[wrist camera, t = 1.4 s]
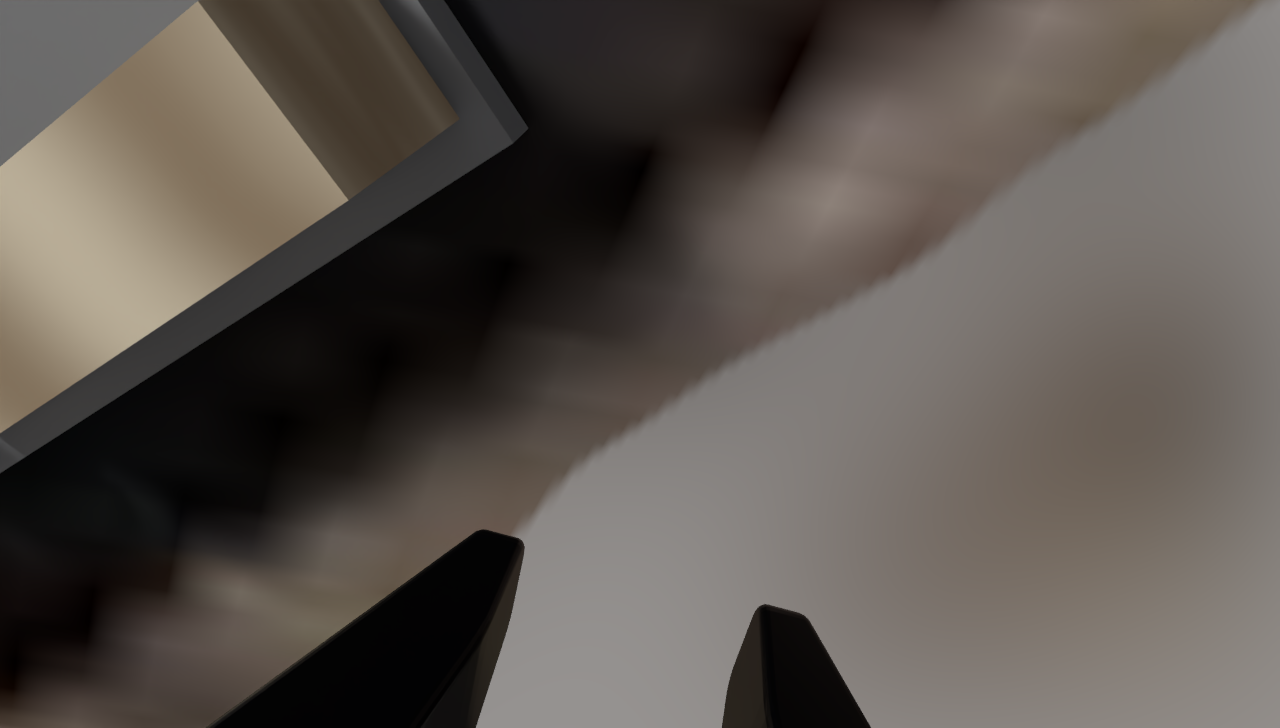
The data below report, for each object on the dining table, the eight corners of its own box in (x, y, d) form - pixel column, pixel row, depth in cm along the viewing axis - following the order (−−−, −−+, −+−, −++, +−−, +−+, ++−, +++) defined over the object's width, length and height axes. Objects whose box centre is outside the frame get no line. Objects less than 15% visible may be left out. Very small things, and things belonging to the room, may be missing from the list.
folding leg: (-17, 438, 22) (-214, 575, 18) (-116, 341, 21) (-351, 460, 17) (459, 118, 17) (348, 200, 13) (357, -31, 16) (197, 1, 12)
